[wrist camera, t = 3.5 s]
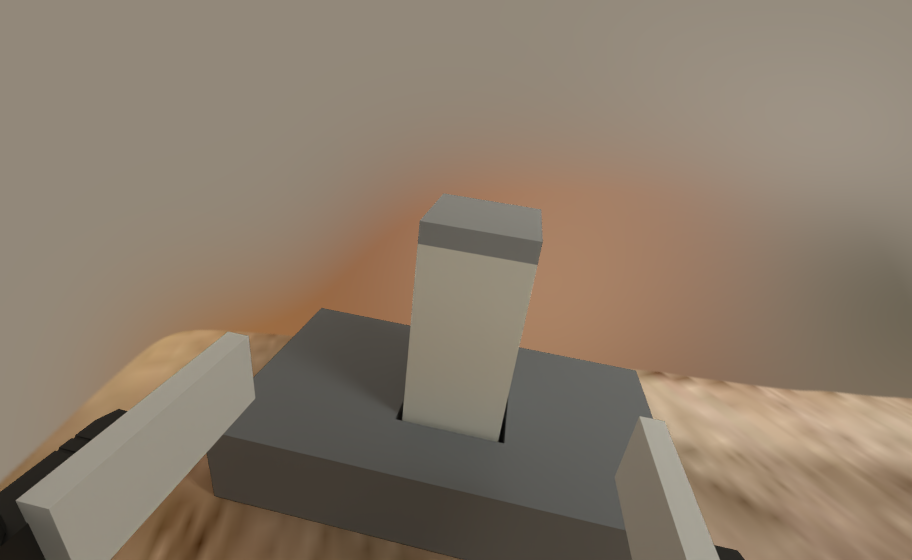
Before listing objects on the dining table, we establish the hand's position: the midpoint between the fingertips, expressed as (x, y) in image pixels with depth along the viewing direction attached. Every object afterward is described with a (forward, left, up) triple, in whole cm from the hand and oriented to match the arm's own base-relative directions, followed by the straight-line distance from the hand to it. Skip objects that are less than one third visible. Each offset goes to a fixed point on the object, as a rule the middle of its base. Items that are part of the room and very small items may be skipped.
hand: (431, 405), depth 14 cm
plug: (+7, -4, -9) cm, 12 cm away
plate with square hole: (+7, -4, -10) cm, 13 cm away
